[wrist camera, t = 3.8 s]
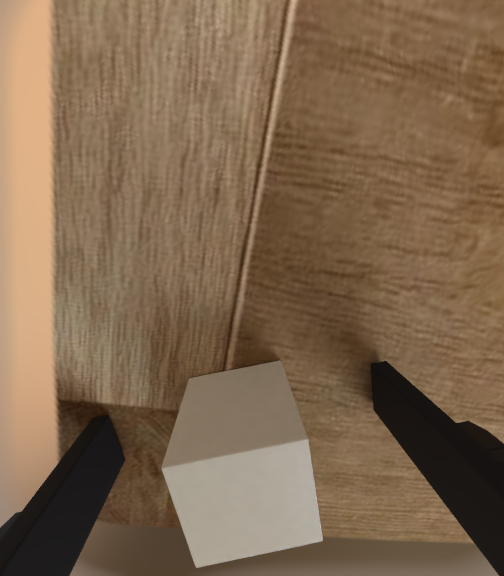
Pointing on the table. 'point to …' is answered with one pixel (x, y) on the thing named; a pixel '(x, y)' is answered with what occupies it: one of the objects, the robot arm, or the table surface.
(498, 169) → the table surface
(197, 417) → the block
